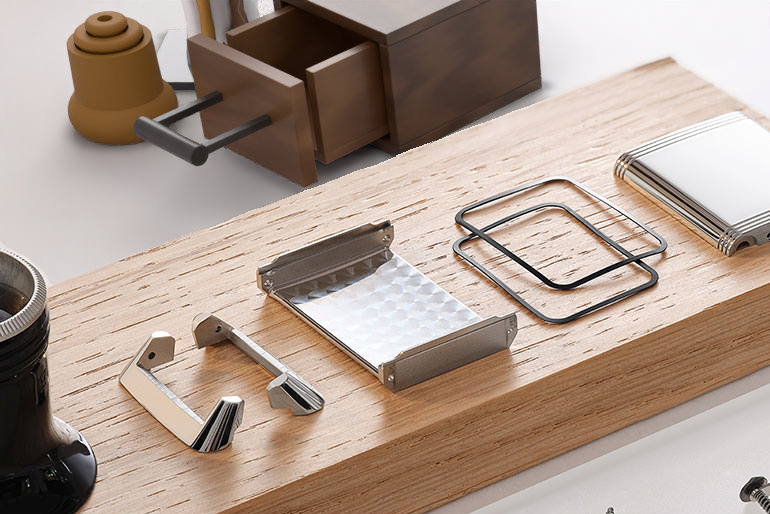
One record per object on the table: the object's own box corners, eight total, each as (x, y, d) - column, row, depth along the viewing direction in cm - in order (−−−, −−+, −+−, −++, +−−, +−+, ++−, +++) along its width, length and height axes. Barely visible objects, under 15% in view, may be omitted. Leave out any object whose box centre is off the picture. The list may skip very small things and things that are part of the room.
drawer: (224, 229, 135) (205, 126, 130) (123, 174, 140) (101, 74, 136) (444, 118, 146) (434, 20, 142) (343, 72, 152) (330, -24, 147)
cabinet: (400, 159, 144) (386, 34, 138) (288, 105, 150) (269, -17, 144) (542, 86, 152) (534, -34, 146) (430, 38, 158) (418, -79, 152)
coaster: (315, 37, 158) (314, 30, 158) (295, 90, 152) (294, 83, 151) (169, 36, 158) (168, 29, 158) (143, 89, 152) (141, 82, 151)
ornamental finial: (71, 104, 150) (178, 92, 151) (71, 155, 144) (182, 142, 146) (48, 0, 145) (159, -11, 146) (47, 48, 139) (162, 36, 141)
